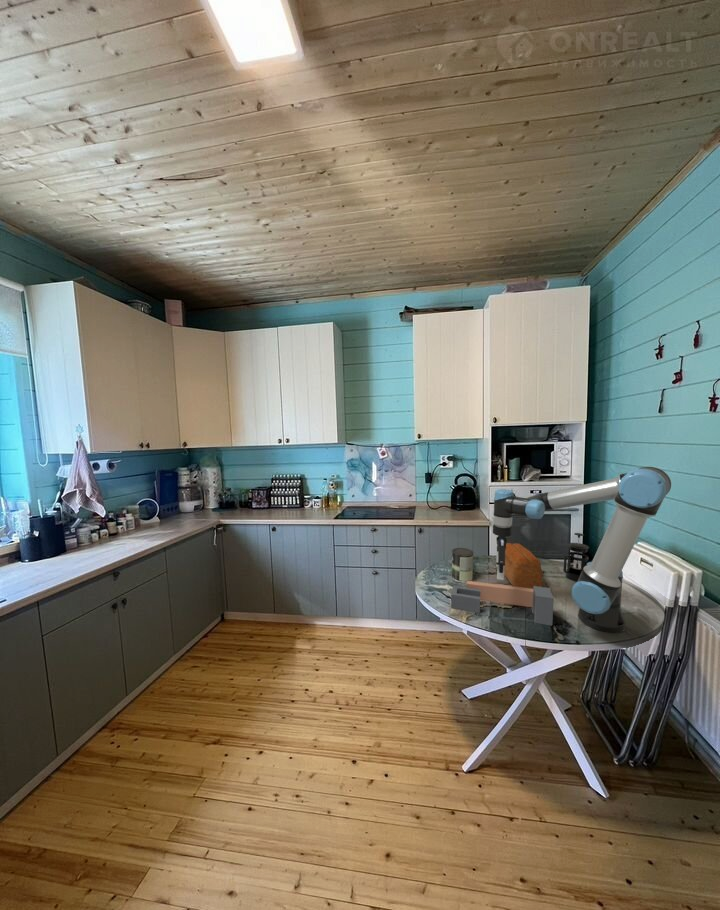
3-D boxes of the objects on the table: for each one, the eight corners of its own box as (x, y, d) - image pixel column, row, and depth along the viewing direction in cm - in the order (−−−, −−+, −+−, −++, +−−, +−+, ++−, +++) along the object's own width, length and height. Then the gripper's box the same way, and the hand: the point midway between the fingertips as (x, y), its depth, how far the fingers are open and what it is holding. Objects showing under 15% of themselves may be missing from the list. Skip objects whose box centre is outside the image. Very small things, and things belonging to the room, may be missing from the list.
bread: (522, 567, 191) (523, 540, 189) (544, 590, 164) (546, 559, 163) (495, 567, 192) (496, 540, 190) (514, 590, 165) (515, 558, 164)
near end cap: (548, 613, 144) (549, 588, 143) (552, 625, 136) (553, 598, 135) (532, 611, 146) (533, 585, 145) (534, 622, 138) (536, 595, 137)
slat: (533, 604, 152) (534, 589, 151) (535, 608, 149) (535, 592, 148) (466, 595, 160) (466, 580, 159) (466, 598, 157) (466, 583, 156)
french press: (581, 574, 182) (583, 530, 180) (593, 582, 173) (596, 536, 171) (558, 574, 182) (560, 530, 180) (569, 582, 173) (572, 536, 171)
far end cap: (480, 602, 153) (480, 589, 152) (479, 613, 144) (480, 599, 144) (452, 598, 157) (453, 585, 156) (450, 608, 148) (451, 594, 148)
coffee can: (448, 580, 175) (449, 552, 174) (454, 572, 184) (455, 546, 183) (469, 584, 170) (470, 556, 169) (474, 577, 179) (475, 550, 178)
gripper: (492, 517, 164) (490, 560, 166) (493, 532, 141) (491, 583, 143) (509, 518, 162) (507, 563, 164) (513, 535, 139) (511, 586, 141)
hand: (499, 572), depth 154 cm, fingers open, 13 cm apart
